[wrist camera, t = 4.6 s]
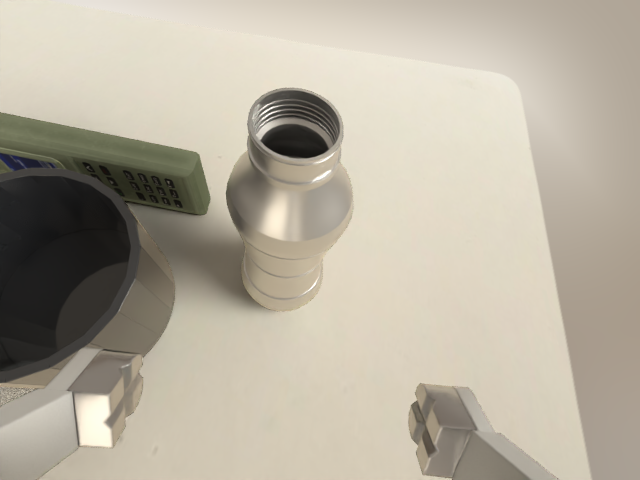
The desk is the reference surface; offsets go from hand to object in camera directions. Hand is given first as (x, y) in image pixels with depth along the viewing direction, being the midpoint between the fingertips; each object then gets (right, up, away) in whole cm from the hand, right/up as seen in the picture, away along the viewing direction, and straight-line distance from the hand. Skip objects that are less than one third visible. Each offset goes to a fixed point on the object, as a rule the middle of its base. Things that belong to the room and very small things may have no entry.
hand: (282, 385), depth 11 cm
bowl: (-18, -1, +19) cm, 26 cm away
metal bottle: (-2, +1, +21) cm, 21 cm away
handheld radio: (-22, +10, +23) cm, 33 cm away
